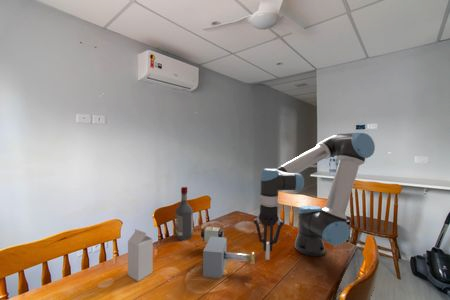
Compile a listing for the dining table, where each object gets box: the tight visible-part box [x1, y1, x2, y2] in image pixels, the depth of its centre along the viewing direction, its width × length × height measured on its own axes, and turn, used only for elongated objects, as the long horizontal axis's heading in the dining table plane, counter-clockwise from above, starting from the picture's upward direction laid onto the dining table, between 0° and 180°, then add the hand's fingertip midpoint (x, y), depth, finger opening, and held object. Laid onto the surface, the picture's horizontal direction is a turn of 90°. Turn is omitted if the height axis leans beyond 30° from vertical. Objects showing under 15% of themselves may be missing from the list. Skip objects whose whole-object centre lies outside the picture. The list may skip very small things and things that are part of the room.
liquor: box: [174, 186, 194, 241], centre depth 125 cm, size 9×9×30 cm
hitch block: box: [202, 236, 228, 279], centre depth 94 cm, size 8×14×11 cm, turn 171°
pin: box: [224, 251, 256, 265], centre depth 93 cm, size 16×5×5 cm, turn 81°
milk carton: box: [127, 228, 154, 282], centre depth 89 cm, size 7×7×19 cm
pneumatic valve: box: [200, 226, 225, 243], centre depth 112 cm, size 6×12×12 cm, turn 79°
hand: (267, 257), depth 90 cm, fingers closed
